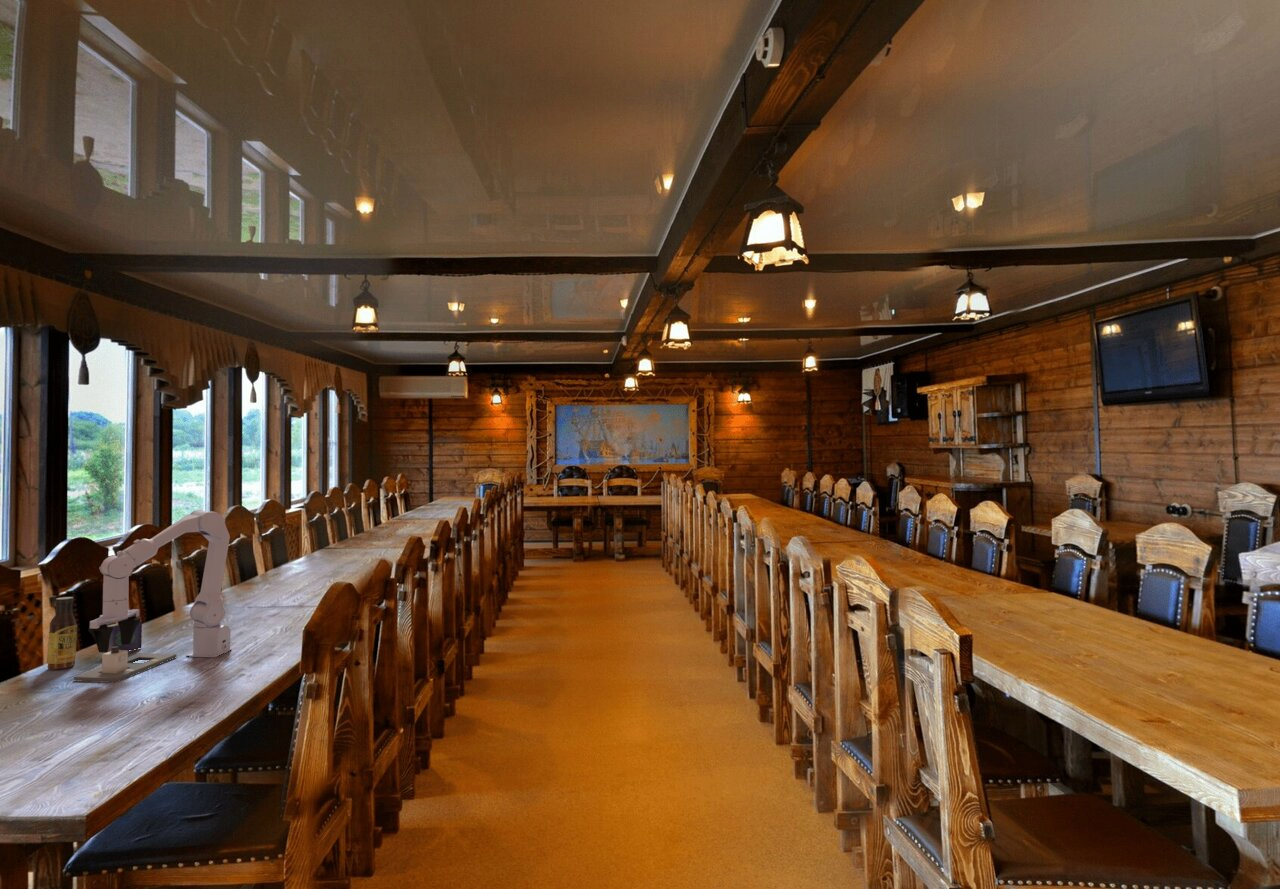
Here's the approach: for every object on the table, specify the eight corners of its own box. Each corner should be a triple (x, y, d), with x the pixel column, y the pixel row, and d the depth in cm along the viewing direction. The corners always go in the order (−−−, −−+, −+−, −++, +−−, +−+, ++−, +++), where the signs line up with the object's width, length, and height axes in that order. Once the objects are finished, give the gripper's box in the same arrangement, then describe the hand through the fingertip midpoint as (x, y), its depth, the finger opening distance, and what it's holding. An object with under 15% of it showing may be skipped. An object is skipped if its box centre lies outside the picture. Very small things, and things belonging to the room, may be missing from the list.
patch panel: (176, 658, 207) (176, 653, 207) (115, 682, 185) (115, 677, 185) (138, 657, 208) (138, 652, 208) (73, 681, 186) (73, 676, 186)
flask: (107, 656, 208) (108, 620, 209) (104, 654, 210) (104, 619, 210) (143, 649, 216) (143, 614, 216) (139, 647, 218) (139, 613, 218)
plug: (129, 671, 193) (129, 645, 194) (117, 676, 189) (118, 649, 190) (113, 671, 194) (114, 645, 194) (101, 676, 190) (102, 649, 190)
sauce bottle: (59, 671, 194) (60, 601, 194) (41, 670, 195) (42, 600, 195) (82, 664, 200) (83, 596, 200) (64, 663, 201) (65, 595, 202)
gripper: (123, 593, 199) (122, 640, 199) (79, 604, 185) (78, 655, 185) (146, 594, 199) (145, 641, 199) (104, 605, 184) (103, 656, 184)
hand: (114, 648), depth 192 cm, fingers open, 7 cm apart
